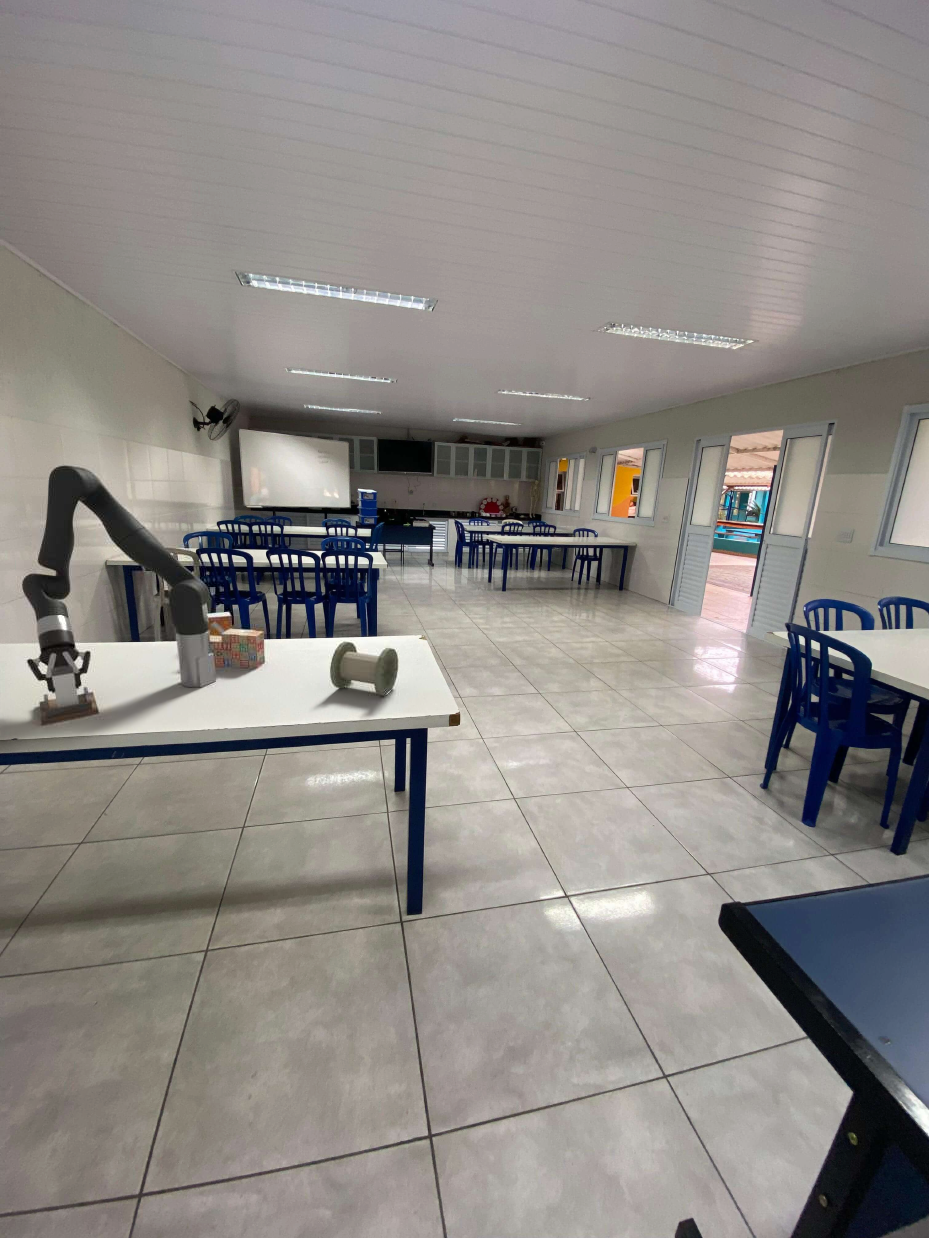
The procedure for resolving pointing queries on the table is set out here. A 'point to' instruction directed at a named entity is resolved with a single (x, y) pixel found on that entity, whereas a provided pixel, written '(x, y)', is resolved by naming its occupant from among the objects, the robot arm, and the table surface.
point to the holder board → (67, 708)
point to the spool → (364, 668)
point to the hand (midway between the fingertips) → (65, 689)
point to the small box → (219, 623)
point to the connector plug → (64, 686)
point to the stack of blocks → (238, 648)
